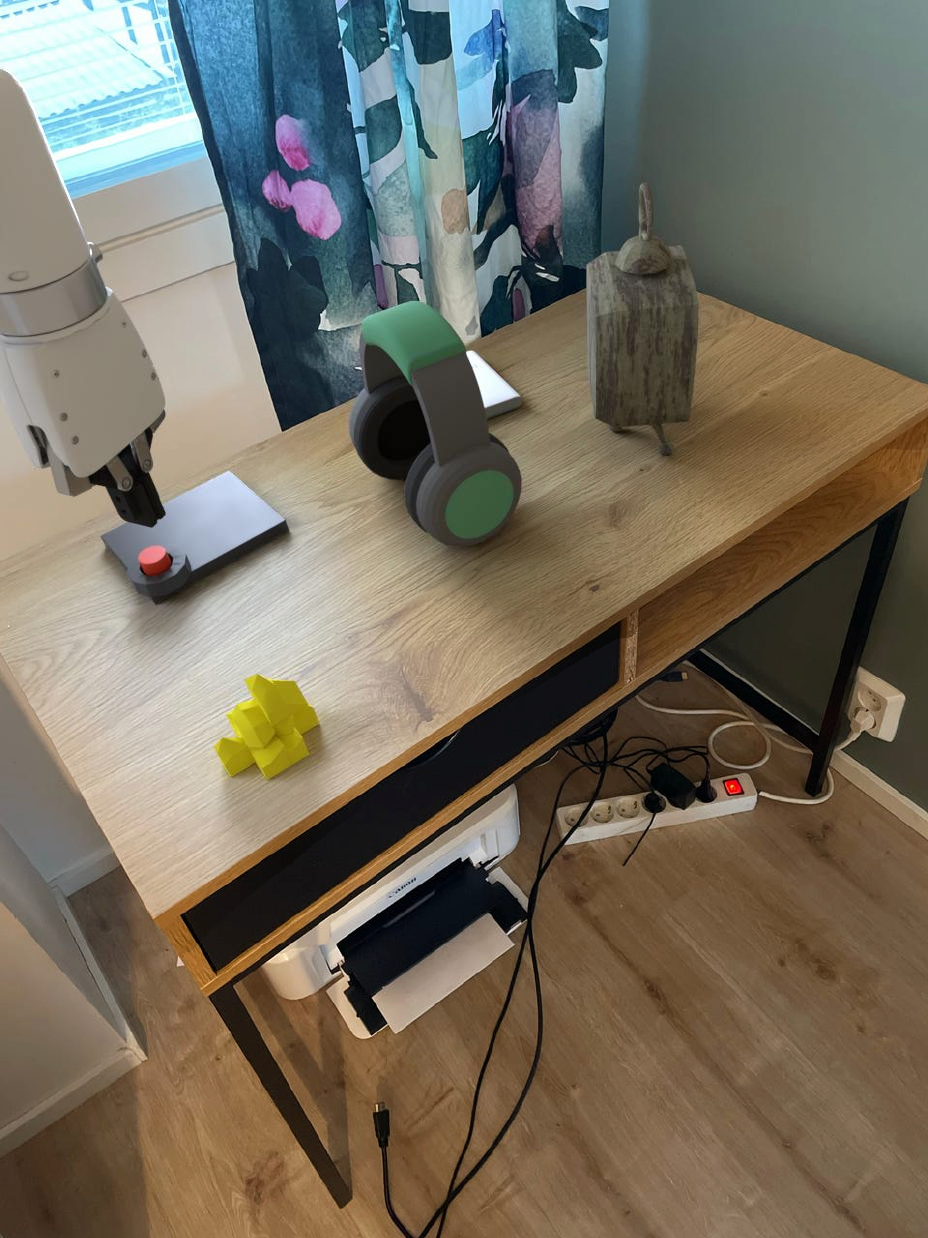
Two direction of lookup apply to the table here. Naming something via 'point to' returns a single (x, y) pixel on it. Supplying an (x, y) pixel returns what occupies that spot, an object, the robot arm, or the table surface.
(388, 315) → the headphones
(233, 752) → the yellow crystal cluster
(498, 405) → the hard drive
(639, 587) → the table surface
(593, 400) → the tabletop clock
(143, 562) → the tare button
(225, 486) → the scale
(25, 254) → the robot arm
